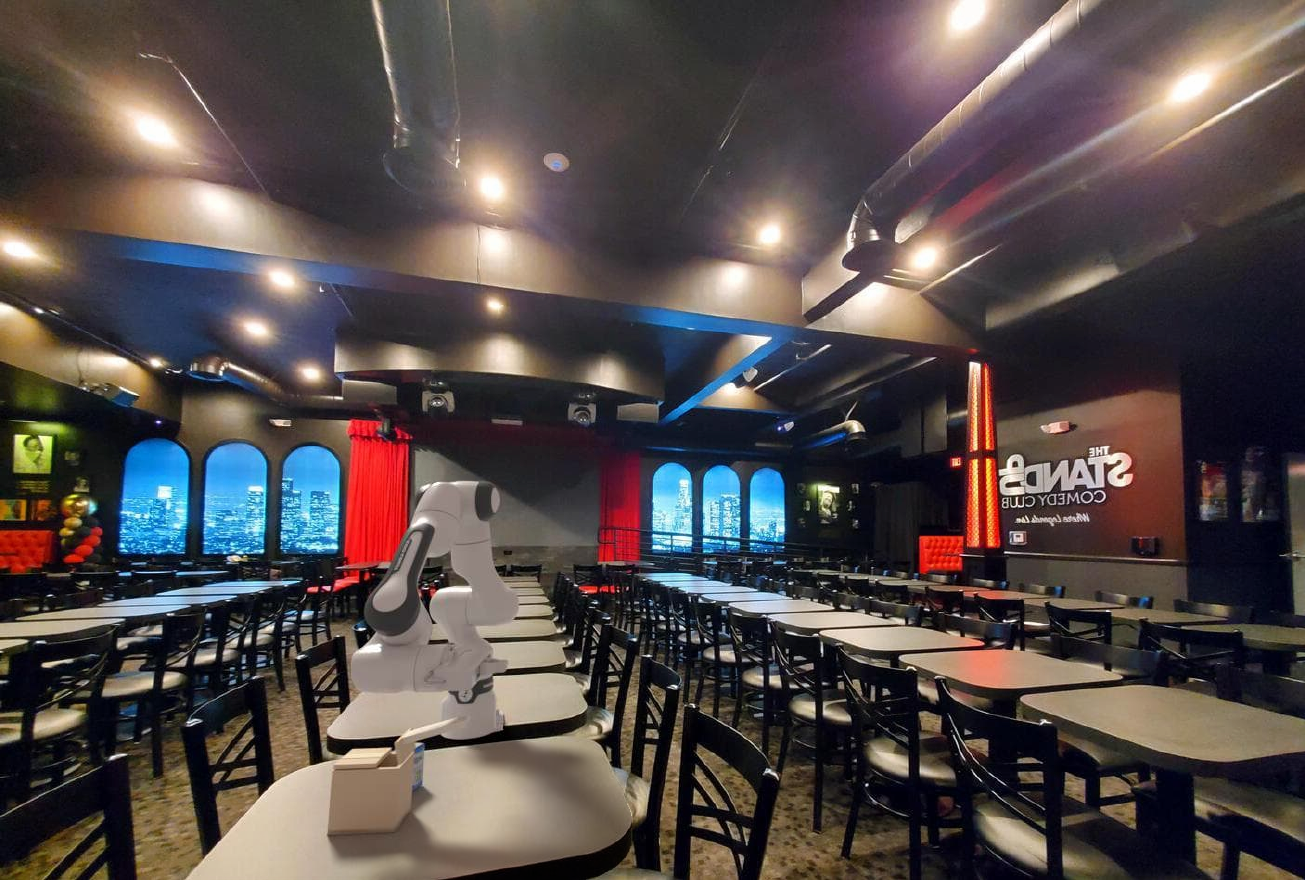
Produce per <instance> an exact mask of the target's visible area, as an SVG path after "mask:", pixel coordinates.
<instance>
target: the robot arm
mask: <svg viewBox="0 0 1305 880" xmlns="http://www.w3.org/2000/svg"><path fill="white" fill-rule="evenodd" d="M500 501H501V499H500V494H499V490H498V487H497V486H496V485H495V483H493V482H490V481H485V480H479V481H474V480H455V481H448V482H447V481H438V482H435V483H429V484H425V485H423V486H421V487H420V488H418V490H417V491H416V493H415V496H414V500H413V508H414V513H413V516H412V520H411V522H410V525H409V527H408V528H407V530H406V531H405V532H404V534H403V536H402V538H401V540H400V543H399V544H398V546H397V549H396V551H395V553H394V555H393V558H392V559H391V562H390V564H389V567H388V568H387V571H386V573H385V575H384V577H383V578H382V580H381V581H380V582H379V584H378V585H377V587H375V588H374V589H373V591H372V592H371V593H370V595H369V596H368V598H367V600H366V602H365V605H364V610H363V611H364V612H363V615H364V618H365V619H364V620H365V621H366V623H367V625H368V626H369V627H370V628H371V629H372V630H374V632H375V633H374V635H373V636H372V637H371V638H370V639H369V640H368V642H366V643H365V644H364V645H363V646H362V647H361V648H359V649H357V650H356V651H354V652H353V654H352V656H351V659H350V662H349V663H350V664H349V676H350V681H351V683H352V686H354V688H356V689H357V690H358V691H359V692H363V693H370V694H398V693H400V692H405V691H406V692H408V691H409V692H413V693H441V692H445V691H447V693H448V694H447V696H445V697H444V698H443V699H442V701H441V709H440V719H439V722H442V721H446V720H450V719H453V718H457V717H460V716H464V715H467V714H470V718H471V720H470V722H469V723H468V725H467V726H466V727H464V728H460V729H457V730H453V731H450V732H446V733H443V734H440V736H442V737H443V738H445V739H450V740H469V739H477V738H480V737H485V736H487V735H490V734H491V733H495V732H500V731H503V730H504V729H503V723H504V711H503V710H502V709H497V694H496V693H495V691H494V683H495V681H494V675H493V674H499V673H506V671H507V669H508V668H509V660H508V659H498V658H494V647H492V645H491V643H490V642H489V641H488V640H486V639H485V638H483V637H482V636H480V634H479V632H478V631H477V628H476V627H497V626H502V625H508V624H511V623H512V622H513V621H514V620H515V618H516V617H517V615H518V613H519V609H520V600H519V597H518V594H517V593H516V591H515V590H514V589H513V588H512V587H510V586H509V585H507V584H506V583H505V582H504V581H503V579H502V578H501V577H500V575H499V573H498V572H497V570H496V568H495V567H496V566H495V564H494V559H493V551H492V539H491V537H492V535H491V529H490V527H491V526H490V519H492V518H494V517H495V515H497V513H498V511H499V506H500ZM449 552H450V559H451V561H450V563H451V567H452V570H453V571H454V573H455V574H457V575H458V576H460V577H462V578H463V579H464V580H465V581H466V582H467V583H468V585H454V586H447V587H443V588H439V589H438V590H437V591H436V592H434V594H433V596H432V597H431V600H430V602H429V612H428V611H427V609H426V608H425V605H424V604H423V601H422V600H421V596H420V594H419V585H418V584H419V580H420V577H421V575H422V572H423V569H424V566H425V564H426V562H427V559H428V558H439V557H442V556H445V555H446V554H448V553H449ZM431 618H432V619H431ZM432 620H433V621H434V622H435V623H437V625H438V626H439V627H440V628H441V629H442V630H443V632H444V634H445V636H446V638H447V640H448V642H446V643H440V644H439V643H437V644H429V642H430V639H431V636H432V634H433V633H432V632H433V622H432ZM499 724H500V725H499Z"/></svg>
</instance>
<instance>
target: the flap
mask: <svg viewBox="0 0 1305 880" xmlns="http://www.w3.org/2000/svg"><path fill="white" fill-rule="evenodd" d="M470 720H471V718H470V714H467V715H464V716H460V717H457V718H453V719H450V720H446V721H442V722H440V721H439V722H436V723H433V724H429V725H425V726H422V727H418V728H415V729H413V727H410V728H407V730H405V732H404V733H403V734H402V735H401V736H400V737H399V738H398V739H397V740H396V741H395V742H394V750H396V755H397V761H398V765H400V764H402V763H403V762H404V761H405V760H406V759H407V758H408V757H409V756H410V754H411V753H412V752H413V751H414V750H415V749H416V746H415V742H417V741H418V742H419V741H421V740H424V739H428V738H432V737H435V736H438V735H441V734H443V733H446V732H450V731H453V730H457V729H460V728H464V727H466V726H467V725H468V723H469V722H470Z"/></svg>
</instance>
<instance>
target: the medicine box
mask: <svg viewBox="0 0 1305 880" xmlns="http://www.w3.org/2000/svg"><path fill="white" fill-rule="evenodd" d="M415 746H416V749H415V750H414V751H413V752H414V765H413V782H412V793H413V792H415V791H416V790H418V789H419V788H420V787H421V786H423V782H424V781H423V779H424V762H425V761H424V760H425V758H424V757H425V743H424V742H417V741H415ZM391 752H396V749H394V750H392V751H391Z"/></svg>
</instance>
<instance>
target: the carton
mask: <svg viewBox="0 0 1305 880" xmlns="http://www.w3.org/2000/svg"><path fill="white" fill-rule="evenodd" d="M392 749H393V747H378V748H352V749H351V750H349V751H348V752H347V753H346V754H345V755H344V756H342V757H341V758H340V759H339V760H338V761H337V762H335V763H334V764H333V768H332V769H333V770H332V773H331V774H332V776H331V784H330V785H331V786H330V798H329V800H330V801H329V810H328V824H327V834H326V835H327V836H343V835H344V836H345V835H362V834H363V835H366V834H386V833H387V834H388V833H396V832H397V830H399V828H400V826H401V825H402V823H404V820H405V819H406V818H407V816H408V815H409V814H410V812H411V810H412V798H413V797H412V796H413V792H412V782H413V765H414V752H412V753H411V754H410V756H409V757H408V758H407V759H406V760H405V761H404V762H403V763H402V764H400V765H398V761H397V755H396V752H392V751H393V750H392Z"/></svg>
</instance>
